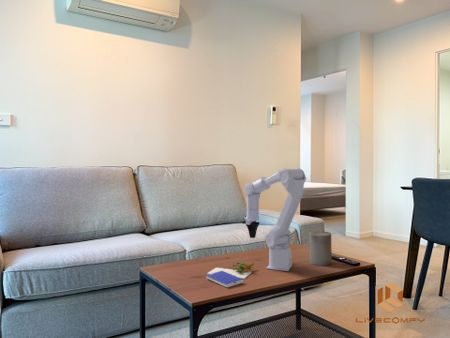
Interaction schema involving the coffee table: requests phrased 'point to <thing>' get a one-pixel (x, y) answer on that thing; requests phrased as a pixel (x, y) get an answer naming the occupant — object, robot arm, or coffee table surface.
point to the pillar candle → (320, 248)
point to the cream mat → (231, 272)
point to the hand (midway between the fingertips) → (252, 237)
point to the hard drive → (224, 278)
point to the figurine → (243, 267)
